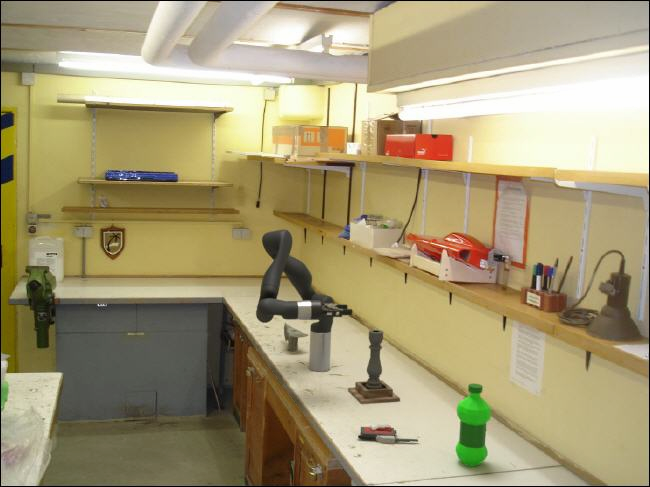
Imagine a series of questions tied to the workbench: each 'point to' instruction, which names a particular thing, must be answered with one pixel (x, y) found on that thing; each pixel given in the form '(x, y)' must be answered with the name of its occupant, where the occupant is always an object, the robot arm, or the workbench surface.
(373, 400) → the walnut socket base
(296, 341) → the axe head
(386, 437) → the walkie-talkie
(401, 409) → the workbench surface
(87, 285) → the workbench surface
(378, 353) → the candle holder
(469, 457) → the plastic bottle
